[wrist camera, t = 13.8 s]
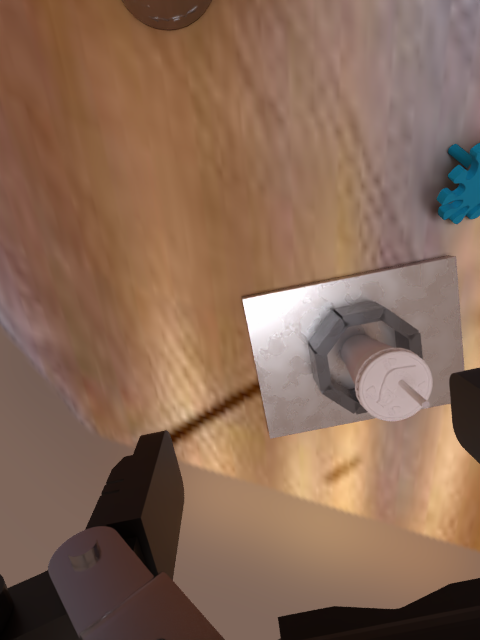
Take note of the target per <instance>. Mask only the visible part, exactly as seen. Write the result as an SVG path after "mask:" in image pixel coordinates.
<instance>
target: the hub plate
mask: <svg viewBox="0 0 480 640" xmlns="http://www.w3.org/2000/svg"><path fill="white" fill-rule="evenodd" d="M242 299H243V304H244V309H245V314H246V319H247V324H248V329H249V334H250V339H251V344H252V349H253V354H254V359H255V364H256V369H257V374H258V379H259V384H260V389H261V394H262V399H263V404H264V409H265V414H266V419H267V424H268V430H269V435H270V438H275V437H281V436H286V435H291V434H296V433H301V432H306V431H312V430H317V429H322V428H327V427H332V426H337V425H342V424H348V423H353V422H358V421H363V420H368V419H373V418H376V417H374V416H372V415H371V414H370V413H368V412H367V411H366V410H365V409H364V408H363V406H362V405H361V404H360V402H359V401H358V399H357V397H356V392H355V384H354V382H353V380H352V378H351V376H350V374H349V371H348V369H347V367H346V365H345V363H344V361H343V359H342V355H341V350H342V346H343V344H344V343H345V341H346V340H347V339H349V338H350V337H352V336H354V335H365V336H368V337H370V338H372V339H375V340H377V341H380V342H382V343H384V344H387V345H389V346H392V347H394V348H403V349H407V350H410V351H412V352H414V353H415V354H417V355H418V356H419V357H420V358H421V359H422V360H424V361H425V363H426V364H427V365H428V367H429V369H430V371H431V374H432V381H433V384H432V391H431V394H430V396H429V399H428V400H427V401H428V402H429V404H430V405H429V407H428V408H430V407H435V406H440V405H445V404H450V403H451V399H450V387H449V378H450V375H451V374H452V373H456V372H461V371H464V358H463V345H462V331H461V317H460V304H459V290H458V277H457V263H456V257H455V256H449V255H448V256H443V257H438V258H433V259H428V260H423V261H418V262H413V263H408V264H403V265H398V266H393V267H388V268H383V269H378V270H373V271H368V272H363V273H358V274H353V275H348V276H343V277H338V278H333V279H328V280H323V281H318V282H313V283H308V284H303V285H298V286H293V287H288V288H283V289H278V290H273V291H268V292H263V293H258V294H253V295H248V296H243V297H242ZM421 409H425V408H423V407H422V408H421Z"/></svg>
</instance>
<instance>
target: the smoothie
mask: <svg viewBox="0 0 480 640" xmlns="http://www.w3.org/2000/svg"><path fill="white" fill-rule="evenodd" d="M341 355H342V359H343V361H344V363H345V365H346V367H347V369H348V371H349V374H350V376H351V378H352V380H353V382H354V384H355V392H356V397H357V399H358V401H359V402H360V404H361V405H362V406H363V408H364V409H365V410H366V411H367V412H368V413H370V414H371V415H372V416H374V417H376V418H378V419H381V420H385V421H399V420H403V419H406V418H408V417H410V416H412V415H414V414H415V413H417V412H418V411H419V410H420V409H421V408H422V407H423V408H428V407H429V405H430V404H429V402H428V401H427V400H428V399H429V396H430V394H431V391H432V384H433V381H432V374H431V371H430V369H429V367H428V365H427V364H426V363H425V361H424V360H422V359H421V358H420V357H419V356H418V355H417V354H415V353H414V352H412V351H410V350H407V349H403V348H394V347H392V346H389V345H387V344H384V343H382V342H380V341H377V340H375V339H372V338H370V337H368V336H365V335H354V336H352V337H350V338H349V339H347V340H346V341H345V343H344V344H343V346H342V350H341Z"/></svg>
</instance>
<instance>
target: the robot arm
mask: <svg viewBox="0 0 480 640" xmlns="http://www.w3.org/2000/svg"><path fill="white" fill-rule="evenodd" d="M122 1H123V3H124V4H125V6H126V7H127V9H128V10H129V11H130V12H131V13H132V14H133V15H134V16H135V17H136V18H137V19H139V20H140V21H142V22H143V23H145V24H146V25H149V26H151V27H154V28H157V29H164V30H172V29H179V28H182V27H185V26H188V25H189V24H191V23H192V22H194V21H195V20H197V19H198V18H199V17H200V16H201V15H202V14H203V13H204V12H205V10H206V9H207V7H208V6H209V4H210V2H211V0H122ZM449 387H450V399H451V411H452V423H453V429H454V432H455V435H456V437H457V439H458V441H459V443H460V444H461V446H462V447H463V448H464V449H465V450H466V451H467V452H468V453H469V454H470V455H471V456H472V457H473V458H474V459H475V460H476V461H477V462H478V463H480V368H476V369H471V370H466V371H461V372H456V373H452V374H451V375H450V378H449ZM183 505H184V487H183V481H182V476H181V473H180V469H179V465H178V462H177V458H176V454H175V451H174V447H173V443H172V440H171V437H170V434H169V432H168V431H167V430H166V431H161V432H156V433H151V434H146V435H142V436H140V438H139V441H138V443H137V446H136V448H135V451H134V454H133V455H131V456H126V457H124V458H123V459H122V460H121V461H120V462H119V463H118V464H117V465H116V466H115V467H114V468H113V469H112V471H111V473H110V475H109V477H108V480H107V482H106V485H105V486H104V489H103V491H102V496H100V498H99V500H98V502H97V504H96V507H95V509H94V511H93V513H92V516H91V518H90V520H89V522H88V525H87V527H86V529H85V530H84V531H82V532H80V533H78V534H76V535H74V536H72V537H71V538H69V539H68V540H67V541H66V542H64V543H63V544H62V545H61V546H60V547H59V548H58V549H57V551H56V552H55V553H54V554H53V556H52V558H51V560H50V562H49V566H48V570H47V571H45V572H44V573H41V574H39V575H37V576H35V577H32V578H30V579H28V580H26V581H23V582H21V583H19V584H17V585H14V586H12V587H10V588H7V586H6V584H5V581H4V579H3V577H2V576H1V575H0V640H225V639H224V638H223V637H222V636H221V635H220V634H219V633H218V632H217V630H216V629H215V628H214V627H213V626H212V625H211V624H210V622H209V621H208V620H207V619H206V618H205V617H204V616H203V615H202V613H201V612H200V611H199V610H198V609H197V608H196V607H195V605H194V604H193V603H192V602H191V601H190V600H189V599H188V597H187V596H186V595H185V594H184V593H183V592H182V591H181V589H180V588H179V587H178V586H177V585H176V584H175V583H174V582H173V574H174V567H175V561H176V554H177V546H178V540H179V533H180V525H181V519H182V512H183ZM278 621H279V628H280V636H281V638H280V639H279V640H480V578H478V579H472V580H468V581H462V582H457V583H452V584H449V585H447V586H445V587H443V588H441V589H439V590H437V591H435V592H433V593H431V594H429V595H427V596H425V597H423V598H421V599H419V600H417V601H415V602H412V603H410V604H408V605H406V606H405V607H402V608H399V609H377V608H357V607H337V606H334V607H329V608H323V609H318V610H312V611H307V612H302V613H297V614H292V615H286V616H282V617H278Z"/></svg>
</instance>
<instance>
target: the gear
mask: <svg viewBox="0 0 480 640" xmlns="http://www.w3.org/2000/svg"><path fill="white" fill-rule="evenodd" d="M448 153H449V154H450V155H451V156H452V157H454V158H455V159H456V160H457V161H459V162H460V163H461V164H462V165H463V166H465V167H466V168H467V170H466V169H464V168H463V167H462V166H461V165H457V166H456V167H455V168H454V169H453V170H452V171H451V172H450V173H449V174H448V178H449V179H450V180H451V181H453V182H454V183H456V184H457V183H459V186H458V187H457V188H456V189H455V190H454V191H451V190H450V189H448V188H444V189H442V190H441V192H440V193H439V195H438V197H437V199H436V200H437V201H438V202H440V203H441V204H442V206H440V207H439V209H438V215H439V216H440V217H441V218H442V219H443V220H446V219H448V218H449V219H450V220H451V221H452V222H453V223H455V224H458V223H460V222H461V221H462V220H463V218H464V217H465V215H466V216H467V217H468V218H469V219H475V218H477V217H479V216H480V143H478V144H477V145H475V146H474V147H473V148H471V150H470V154H469V153H467V152H466V151H465V150H464V149H462V148H461V147H460V146H459V145H457V144H454V145H452V146H451V147H450V148H449V150H448ZM454 200H455V201H454ZM452 201H454V202H452ZM450 202H452V203H450ZM448 203H450V204H448Z"/></svg>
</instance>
